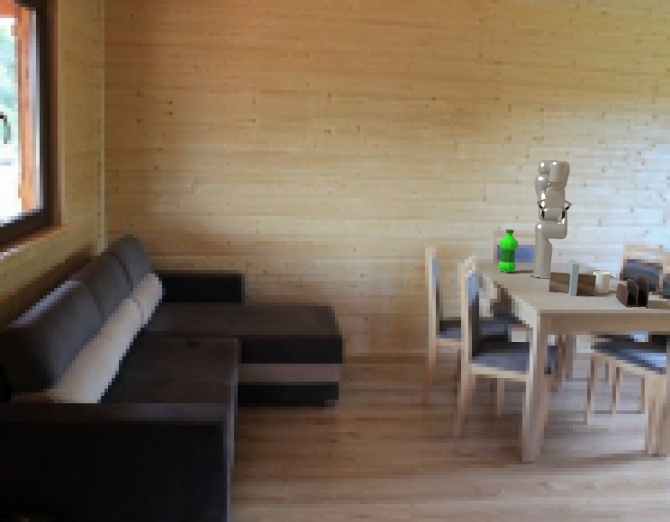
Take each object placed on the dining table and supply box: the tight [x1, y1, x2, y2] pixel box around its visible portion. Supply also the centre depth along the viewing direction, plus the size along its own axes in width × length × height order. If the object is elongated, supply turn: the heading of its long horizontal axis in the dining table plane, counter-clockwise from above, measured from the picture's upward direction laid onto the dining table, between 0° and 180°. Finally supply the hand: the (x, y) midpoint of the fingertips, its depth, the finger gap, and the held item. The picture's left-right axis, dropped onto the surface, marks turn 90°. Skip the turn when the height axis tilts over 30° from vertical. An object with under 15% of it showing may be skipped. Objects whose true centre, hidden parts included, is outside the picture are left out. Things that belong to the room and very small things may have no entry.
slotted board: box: [548, 271, 596, 296], centre depth 357 cm, size 3×22×10 cm, turn 79°
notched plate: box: [567, 259, 580, 297], centre depth 357 cm, size 14×3×16 cm, turn 169°
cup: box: [592, 270, 611, 294], centre depth 365 cm, size 8×12×10 cm
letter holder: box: [615, 273, 650, 309], centre depth 338 cm, size 10×20×14 cm, turn 171°
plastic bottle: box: [498, 228, 519, 273], centre depth 408 cm, size 10×10×25 cm
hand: (552, 218), depth 366 cm, fingers open, 9 cm apart
